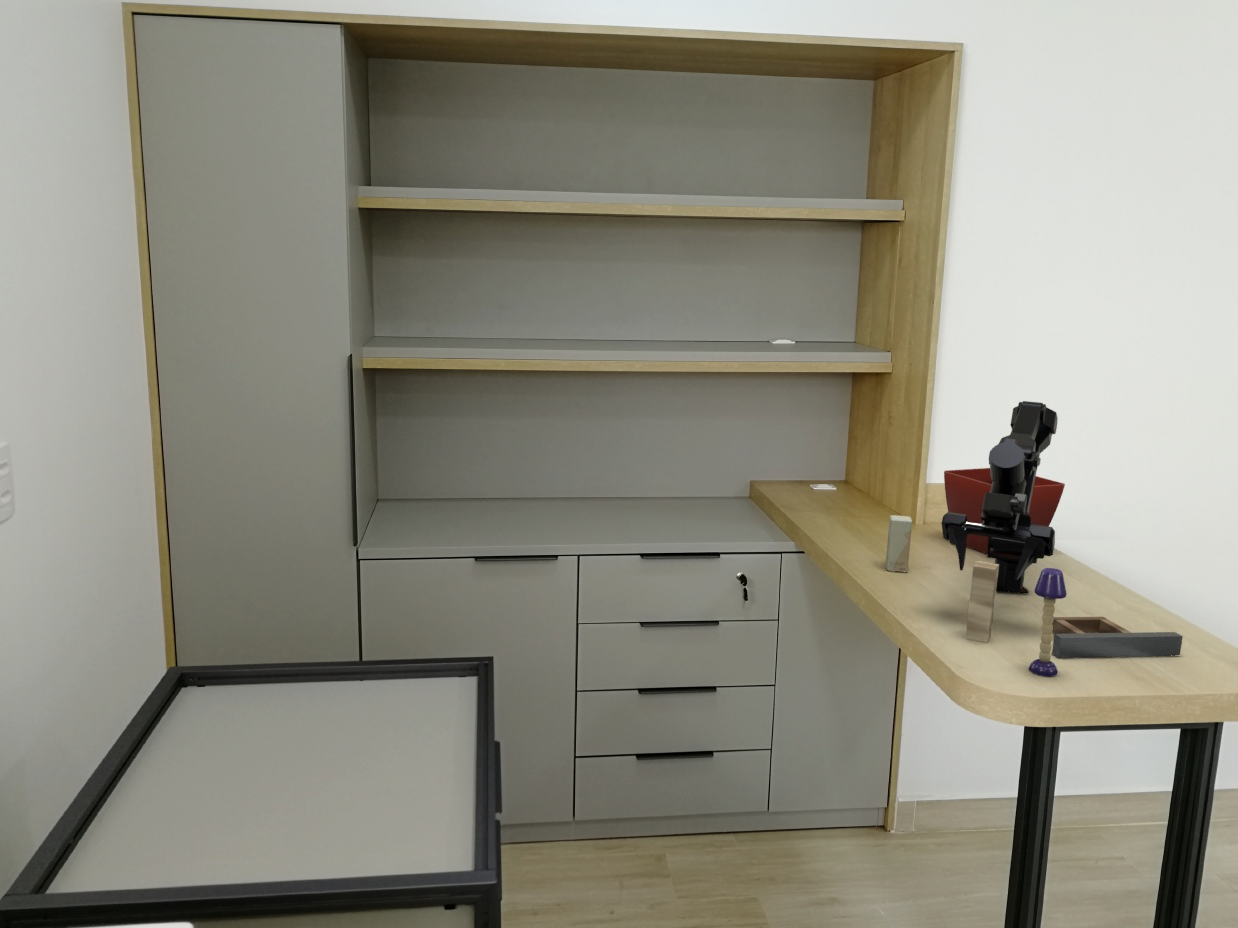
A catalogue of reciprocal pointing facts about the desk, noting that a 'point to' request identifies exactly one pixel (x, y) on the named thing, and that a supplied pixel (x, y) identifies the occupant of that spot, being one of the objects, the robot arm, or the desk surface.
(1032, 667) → the toy lamp
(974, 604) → the wooden square post
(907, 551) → the box
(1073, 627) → the collar
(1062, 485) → the plant pot
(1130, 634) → the rail
